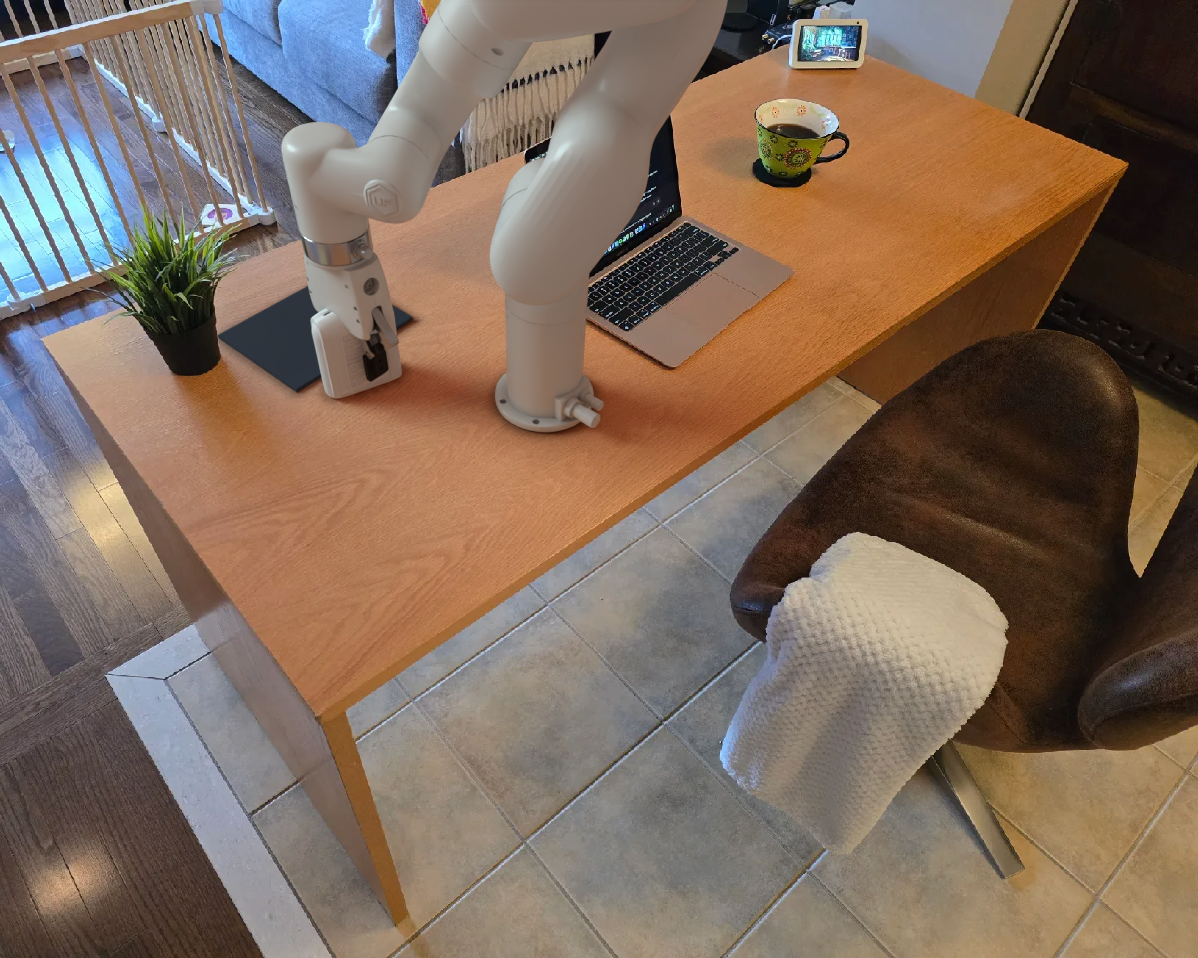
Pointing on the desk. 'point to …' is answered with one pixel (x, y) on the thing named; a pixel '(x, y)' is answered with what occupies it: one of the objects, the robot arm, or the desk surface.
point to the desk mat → (285, 339)
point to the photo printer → (346, 357)
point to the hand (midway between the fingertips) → (360, 363)
